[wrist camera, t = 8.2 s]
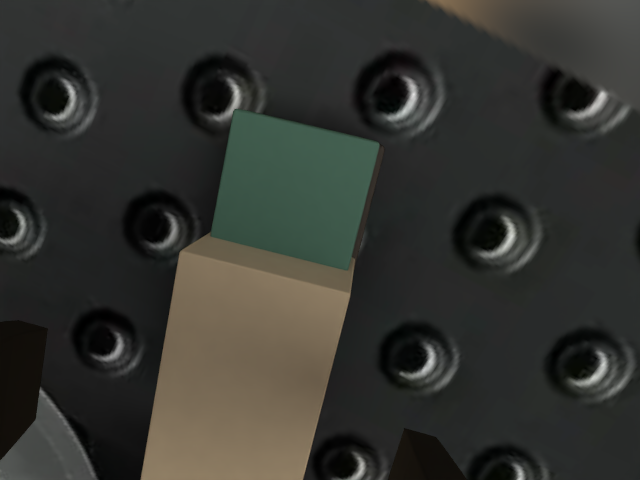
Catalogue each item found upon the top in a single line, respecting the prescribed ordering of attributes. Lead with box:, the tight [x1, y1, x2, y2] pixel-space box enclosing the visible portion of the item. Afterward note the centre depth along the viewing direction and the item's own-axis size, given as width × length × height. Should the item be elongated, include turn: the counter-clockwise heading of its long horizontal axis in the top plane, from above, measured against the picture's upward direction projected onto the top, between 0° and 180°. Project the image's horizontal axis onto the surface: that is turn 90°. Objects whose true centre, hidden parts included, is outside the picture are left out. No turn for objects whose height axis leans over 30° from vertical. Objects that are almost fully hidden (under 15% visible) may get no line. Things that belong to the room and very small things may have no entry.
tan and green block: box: [141, 109, 385, 480], centre depth 14 cm, size 11×4×5 cm, turn 167°
